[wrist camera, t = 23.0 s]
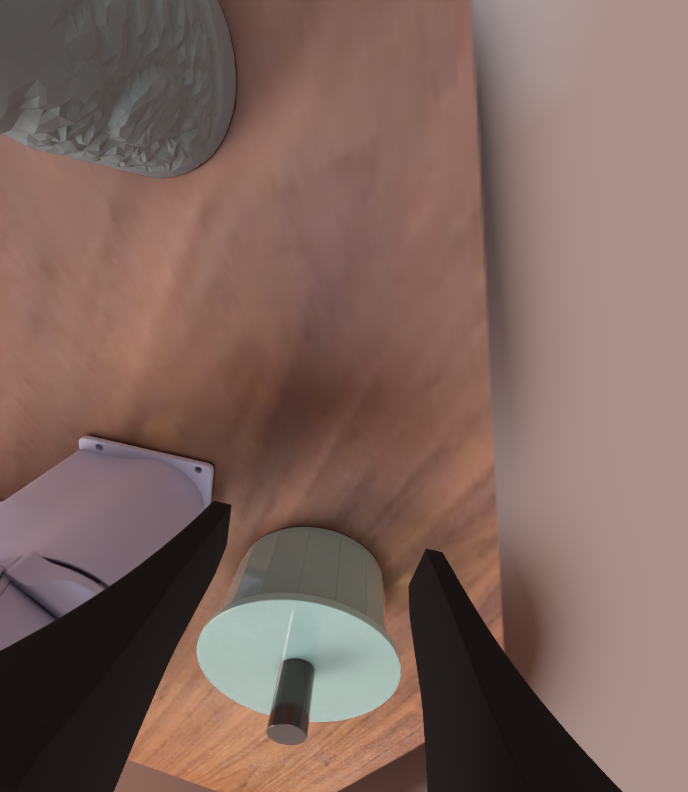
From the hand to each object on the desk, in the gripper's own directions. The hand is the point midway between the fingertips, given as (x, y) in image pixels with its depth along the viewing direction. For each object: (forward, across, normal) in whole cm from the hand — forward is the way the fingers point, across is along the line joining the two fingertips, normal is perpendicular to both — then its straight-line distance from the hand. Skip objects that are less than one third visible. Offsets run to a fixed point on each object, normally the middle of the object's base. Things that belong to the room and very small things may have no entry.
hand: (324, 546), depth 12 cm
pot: (+10, -1, +16) cm, 19 cm away
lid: (+4, -1, +16) cm, 17 cm away
